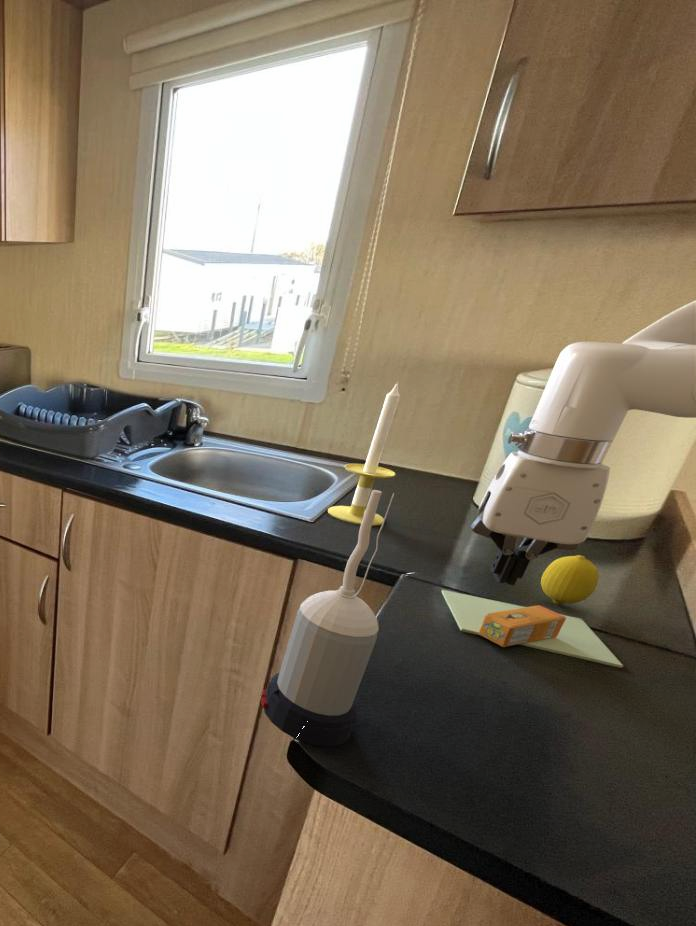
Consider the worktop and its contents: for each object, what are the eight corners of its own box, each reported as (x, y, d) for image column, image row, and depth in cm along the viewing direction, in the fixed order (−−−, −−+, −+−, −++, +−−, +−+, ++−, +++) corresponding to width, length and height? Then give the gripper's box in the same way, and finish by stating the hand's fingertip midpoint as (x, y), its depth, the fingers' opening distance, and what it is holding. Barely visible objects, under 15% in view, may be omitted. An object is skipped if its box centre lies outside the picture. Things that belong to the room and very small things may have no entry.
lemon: (566, 598, 83) (591, 550, 80) (592, 617, 78) (619, 567, 75) (523, 591, 84) (545, 544, 81) (546, 610, 79) (570, 561, 76)
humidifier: (245, 695, 60) (304, 478, 50) (309, 686, 62) (378, 474, 52) (299, 752, 53) (381, 511, 43) (369, 740, 54) (463, 506, 45)
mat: (580, 621, 77) (581, 618, 77) (622, 668, 67) (623, 665, 67) (441, 591, 83) (442, 589, 83) (460, 631, 73) (461, 628, 73)
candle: (395, 521, 110) (442, 384, 99) (365, 528, 105) (411, 386, 95) (346, 504, 118) (385, 376, 107) (316, 511, 114) (354, 378, 103)
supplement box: (529, 626, 75) (474, 633, 72) (540, 604, 74) (485, 610, 71) (557, 640, 72) (501, 648, 69) (569, 617, 71) (513, 624, 68)
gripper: (494, 446, 67) (441, 577, 74) (663, 466, 61) (587, 607, 68) (478, 433, 73) (430, 556, 80) (629, 450, 67) (563, 582, 74)
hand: (502, 579), depth 74 cm, fingers closed
